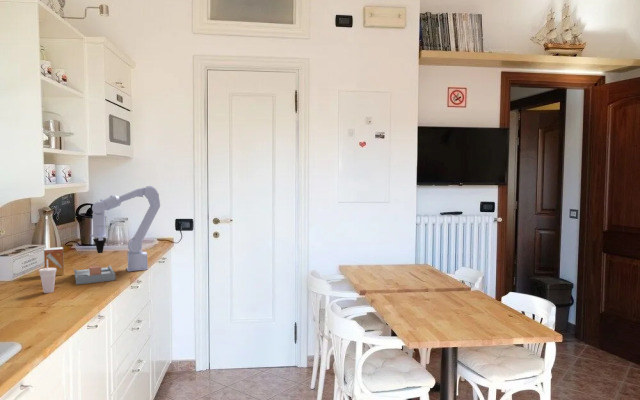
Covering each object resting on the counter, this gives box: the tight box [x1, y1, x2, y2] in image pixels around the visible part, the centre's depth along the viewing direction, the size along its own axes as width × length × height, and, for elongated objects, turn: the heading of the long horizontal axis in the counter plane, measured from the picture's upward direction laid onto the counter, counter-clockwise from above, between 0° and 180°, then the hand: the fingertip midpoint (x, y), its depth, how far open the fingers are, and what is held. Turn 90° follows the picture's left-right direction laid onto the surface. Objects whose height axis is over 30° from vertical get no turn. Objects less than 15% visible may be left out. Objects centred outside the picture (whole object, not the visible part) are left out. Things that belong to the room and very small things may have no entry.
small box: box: [43, 246, 65, 277], centre depth 216 cm, size 8×6×13 cm
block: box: [88, 265, 102, 275], centre depth 205 cm, size 4×4×4 cm
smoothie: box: [38, 259, 57, 294], centre depth 186 cm, size 6×6×14 cm
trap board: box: [73, 265, 116, 285], centre depth 211 cm, size 16×22×3 cm
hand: (100, 252), depth 221 cm, fingers closed
